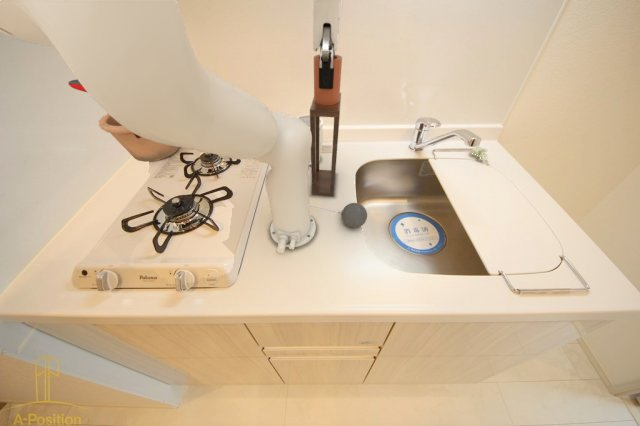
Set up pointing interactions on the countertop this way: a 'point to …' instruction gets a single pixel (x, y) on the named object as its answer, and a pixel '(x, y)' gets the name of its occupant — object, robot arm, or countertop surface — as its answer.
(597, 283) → the countertop surface
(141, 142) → the pottery
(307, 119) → the jar
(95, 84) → the robot arm
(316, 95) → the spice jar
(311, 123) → the shelf stand
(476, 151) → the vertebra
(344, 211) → the lollipop
